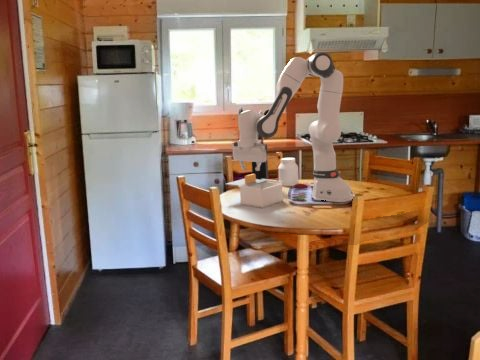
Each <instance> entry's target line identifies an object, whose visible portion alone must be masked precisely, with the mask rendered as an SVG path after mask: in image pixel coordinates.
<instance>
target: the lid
mask: <svg viewBox="0 0 480 360" xmlns="http://www.w3.org/2000/svg"><path fill="white" fill-rule="evenodd" d="M264 182H267V180H259V179H256V174H252V173H251V174H247V175H244V178H242V179H241V178H240V179H238V180H234V181H230V182H227V183H225V185H226V186H232V187H238V185H243V186H253V185H257V184H260V183H264Z"/></svg>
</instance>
